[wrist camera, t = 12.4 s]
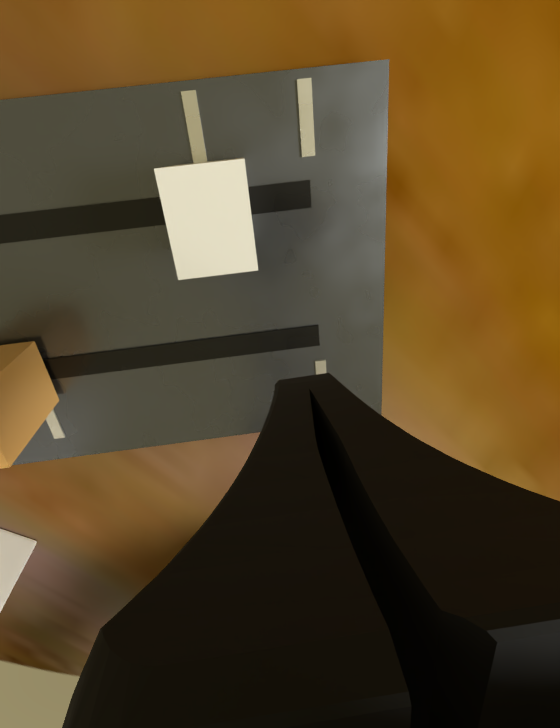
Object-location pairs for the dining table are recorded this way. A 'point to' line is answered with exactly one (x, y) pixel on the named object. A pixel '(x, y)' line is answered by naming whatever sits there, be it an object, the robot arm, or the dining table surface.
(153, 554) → the dining table surface
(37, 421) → the block
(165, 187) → the fader
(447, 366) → the dining table surface
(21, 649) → the dining table surface
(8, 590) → the milk
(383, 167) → the console
